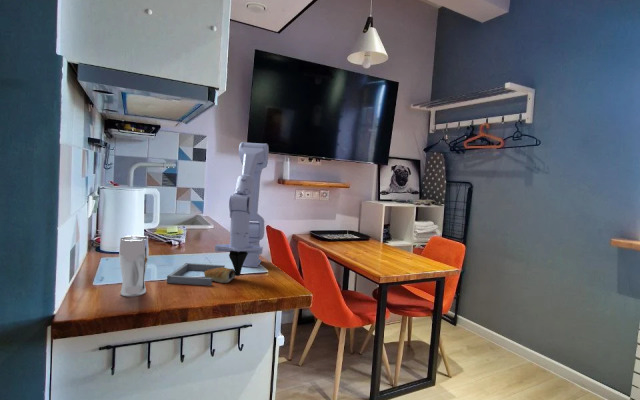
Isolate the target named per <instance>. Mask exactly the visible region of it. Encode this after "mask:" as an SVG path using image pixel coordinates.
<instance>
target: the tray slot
mask: <svg viewBox="0 0 640 400" xmlns="http://www.w3.org/2000/svg"><path fill="white" fill-rule="evenodd" d="M222 267H223V268H226V266H225V265H221V264H207V263H190V262H185V263H184V264H183V265H181V266H179V267H178V268H177V269H175V270H174V271H172V272H171V273H169V274H168V275H167V276H166V283H167V284H180V285H193V286H194V285H196V286H208V287H209V286H212V285H213V281H212V278H206V277H205V276H204V277H200V276H184V275H183V274H184V273H185V272H187V271H199V272H200V271H203V272H205V271H207V270H210V269H215V268H222Z"/></svg>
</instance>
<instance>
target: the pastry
mask: <svg viewBox="0 0 640 400" xmlns="http://www.w3.org/2000/svg"><path fill="white" fill-rule="evenodd" d="M203 274H204V278H212V282H216V283H220V284H226V283H229V282H230V281H232V280H233V279H235V277H236V276H235V271H234V268H229V267H225V268H223V267H222V268H215V269H210V270H207V271H203Z"/></svg>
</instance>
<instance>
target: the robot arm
mask: <svg viewBox="0 0 640 400" xmlns="http://www.w3.org/2000/svg"><path fill="white" fill-rule="evenodd" d="M269 149H270V148H269V144H268V143H258V142H257V143H256V142H244V141H242V142H240V143H239V147H238V156H239V160H240V163H241V165H242V167H241V168H242V170H241V175H239V176H238V177H237V178H236V182H235V187H234V191H233V195H230V197H229V202H228V208H229V218H230V228H229V229H230V232H229V233H230V234H229V243H226V244H221V243H219V244H218V243H217V244H216V245H215V246H214V252H216V253H219V252H223V253H224V252H226V253H229V254H228V258H229V259H230V261H231V263H232V266H233V269H234V271H235V277H236V276H237V277H240V275H241V273H242V268H243V267H247V268H248V267H249V268H258V267H259V266H260V264H261V262H262V261H263V260H262V259H261V258H260V255H262V254H263V251H264V250H263V247H262V246H261V245H260V244H261V243H260V241H262V240H263V239H264V237H265V219H264V218H263V217H262V216H261V215H260V214H259V213H258V210H259V201H260V200H259V198H260V187H261V186H260V185H261V175H262V172H263V170H264V169H265V168H267V167H268V164H269ZM258 265H259V266H258Z"/></svg>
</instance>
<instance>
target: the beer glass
mask: <svg viewBox="0 0 640 400" xmlns="http://www.w3.org/2000/svg"><path fill="white" fill-rule="evenodd" d="M119 239H120V240H119V252H118V253H119V255H118V257H119V258H118V259H119V266H120V271H121V277H122V284H121V289H120V295H121V296H122V297H129V298H132V297H134V298H135V297H140V296H143V295H145V294H146V292H147V288H146V284H145V283H146V282H145V277H146V271H147V267H148V261H149V250H150V249H149V237H148V236H145V235H144V236H143V235H126V236H123V237H121V238H119Z"/></svg>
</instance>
